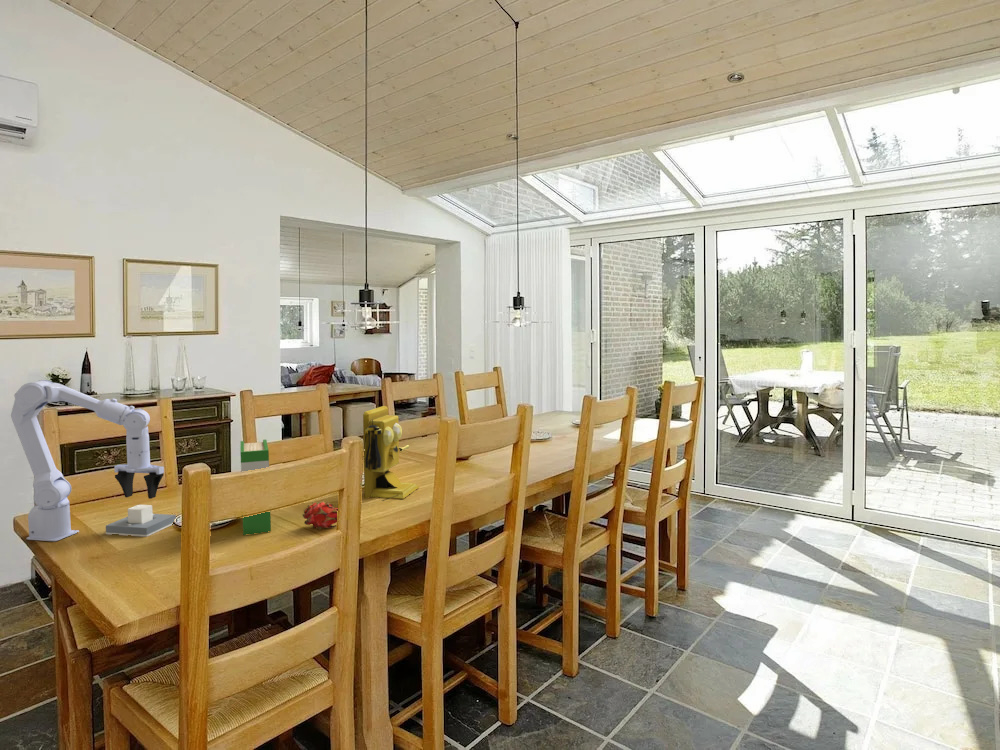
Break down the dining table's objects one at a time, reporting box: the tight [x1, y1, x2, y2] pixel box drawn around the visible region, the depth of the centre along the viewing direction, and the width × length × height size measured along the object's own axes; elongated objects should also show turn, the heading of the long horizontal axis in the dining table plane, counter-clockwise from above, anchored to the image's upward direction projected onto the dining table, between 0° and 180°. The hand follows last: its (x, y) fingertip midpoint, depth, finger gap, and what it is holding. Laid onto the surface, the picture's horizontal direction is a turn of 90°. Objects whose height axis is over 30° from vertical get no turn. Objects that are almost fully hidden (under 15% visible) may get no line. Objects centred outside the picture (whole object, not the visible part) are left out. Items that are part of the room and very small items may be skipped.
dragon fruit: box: [302, 500, 338, 530], centre depth 180 cm, size 8×8×12 cm
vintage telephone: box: [362, 405, 420, 502], centre depth 216 cm, size 31×14×30 cm, turn 167°
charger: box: [127, 504, 154, 524], centre depth 178 cm, size 4×4×6 cm
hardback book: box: [239, 439, 272, 536], centre depth 182 cm, size 18×7×24 cm, turn 23°
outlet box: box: [105, 513, 177, 538], centre depth 179 cm, size 13×12×3 cm
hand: (140, 497), depth 178 cm, fingers open, 7 cm apart
